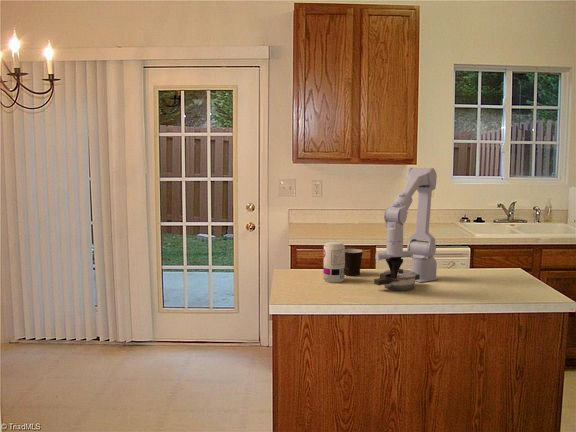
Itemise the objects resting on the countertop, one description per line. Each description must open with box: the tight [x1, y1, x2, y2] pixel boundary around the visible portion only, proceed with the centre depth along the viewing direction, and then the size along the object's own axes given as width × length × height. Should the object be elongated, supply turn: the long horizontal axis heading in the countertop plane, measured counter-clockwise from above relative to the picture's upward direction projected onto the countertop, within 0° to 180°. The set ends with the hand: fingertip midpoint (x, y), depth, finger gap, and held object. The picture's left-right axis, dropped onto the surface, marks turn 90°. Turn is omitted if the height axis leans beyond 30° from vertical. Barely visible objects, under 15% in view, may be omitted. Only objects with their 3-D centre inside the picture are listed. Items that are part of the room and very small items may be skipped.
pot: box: [373, 274, 420, 292], centre depth 197 cm, size 19×11×4 cm, turn 119°
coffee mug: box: [344, 248, 364, 277], centre depth 218 cm, size 12×9×10 cm
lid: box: [379, 268, 416, 280], centre depth 195 cm, size 17×12×2 cm
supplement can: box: [322, 240, 346, 284], centre depth 206 cm, size 8×8×15 cm
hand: (393, 278), depth 189 cm, fingers closed, pressing on lid
